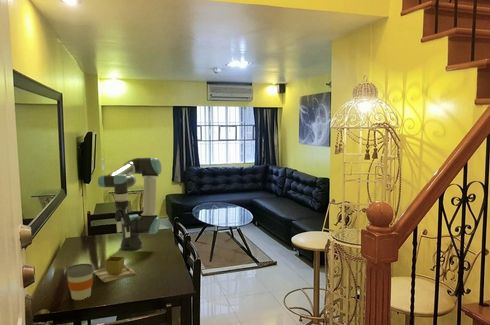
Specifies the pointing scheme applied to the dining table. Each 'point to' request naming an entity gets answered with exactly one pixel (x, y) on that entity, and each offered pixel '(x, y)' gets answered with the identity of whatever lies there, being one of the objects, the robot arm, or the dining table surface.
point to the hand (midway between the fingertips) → (123, 234)
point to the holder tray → (106, 277)
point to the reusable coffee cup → (80, 280)
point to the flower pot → (114, 265)
